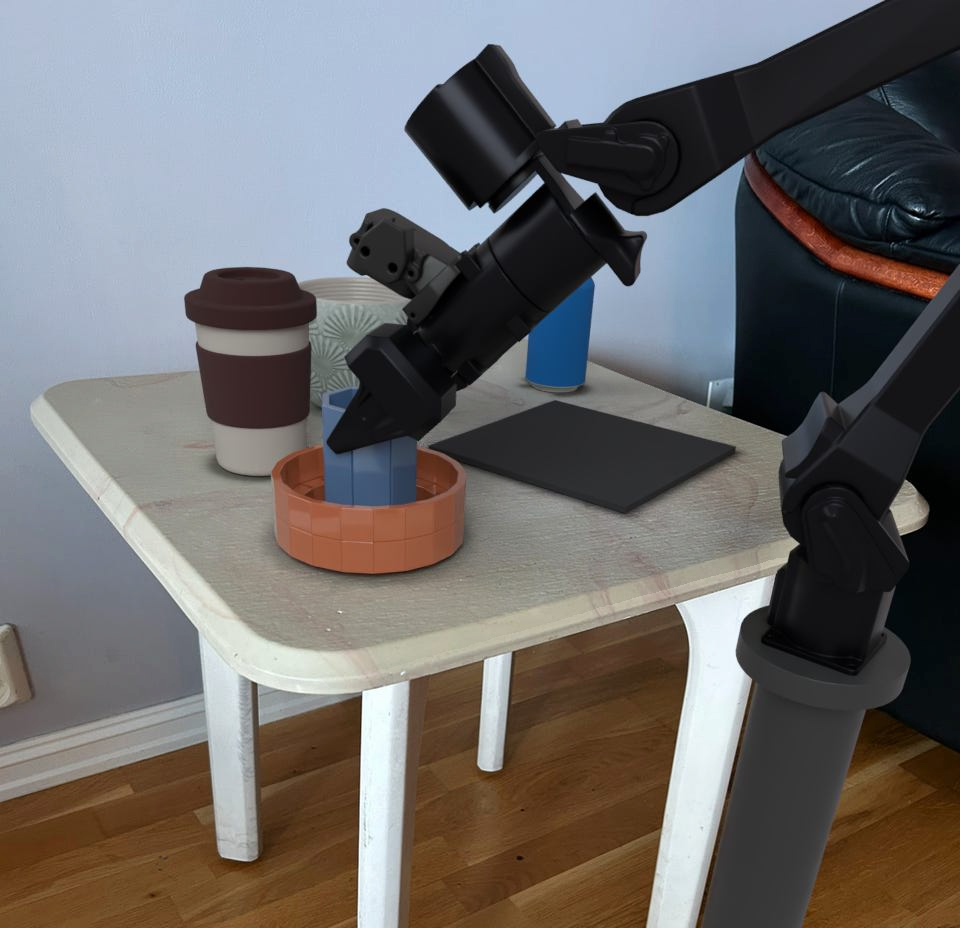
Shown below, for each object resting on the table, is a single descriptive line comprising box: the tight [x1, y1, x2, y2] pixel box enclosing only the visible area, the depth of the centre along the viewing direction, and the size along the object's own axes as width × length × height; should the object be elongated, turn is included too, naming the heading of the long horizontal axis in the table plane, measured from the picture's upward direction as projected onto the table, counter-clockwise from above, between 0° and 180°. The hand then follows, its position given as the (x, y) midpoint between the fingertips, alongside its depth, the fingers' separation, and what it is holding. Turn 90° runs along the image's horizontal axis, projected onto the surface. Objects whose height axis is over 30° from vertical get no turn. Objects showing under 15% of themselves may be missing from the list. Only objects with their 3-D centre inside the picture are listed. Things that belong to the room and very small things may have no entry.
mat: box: [427, 399, 737, 514], centre depth 88 cm, size 20×20×1 cm
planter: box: [297, 276, 411, 409], centre depth 95 cm, size 12×12×11 cm
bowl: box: [270, 444, 467, 575], centre depth 69 cm, size 13×13×5 cm
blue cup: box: [321, 386, 418, 506], centre depth 67 cm, size 6×6×9 cm
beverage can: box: [524, 276, 596, 394], centre depth 104 cm, size 6×6×12 cm
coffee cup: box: [183, 266, 317, 477], centre depth 78 cm, size 10×10×15 cm
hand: (350, 432), depth 66 cm, fingers closed on blue cup, 6 cm apart
